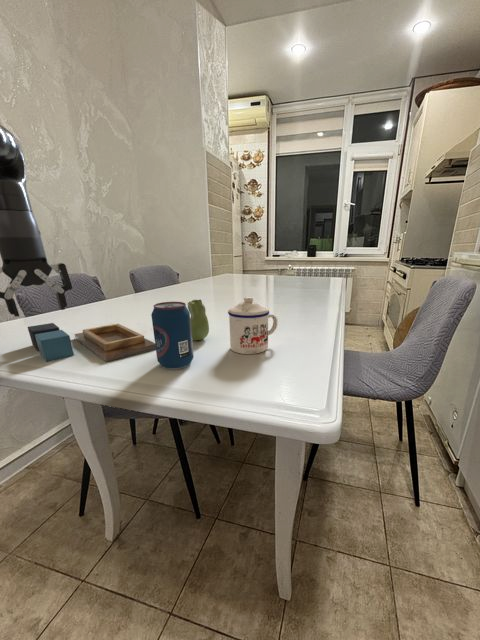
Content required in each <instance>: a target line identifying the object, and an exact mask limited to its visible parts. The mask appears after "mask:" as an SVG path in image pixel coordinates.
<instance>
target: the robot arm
mask: <svg viewBox="0 0 480 640" xmlns="http://www.w3.org/2000/svg"><path fill="white" fill-rule="evenodd" d="M26 171H27V170H26V161H25V157H24V151H23V149H22V146H21V143H20V142H19V140H18V139H17V137H16V136H15V135H14V134H13V132H12V131H10V130H9V129H8V128H6V127H5V126H3V125H2V124H0V258H1V261H2V266H1V267H0V274H2V273H3V274H4V275H6V277H8V278H9V279H10V281H9V283H8V284H7V285H6V288H5V289H4V291H0V299H2V300H4V301H5V305H6V309H7V310H8V313H9V314H10V315H11V316H12V315H13V316H14V317H15V318H17V317H20V313H19V310H18V307H17V304H16V301H15V299H14V298H13V296H14V295H15V293H16V292H17V291H18V289H19V287H20V286H22V287H31V286H42V285H44V284H46V286H48V287H49V288H51V289H52V290H53V291H55V297H56V301H57V304H58V308H59V310H61V311H64V310H66V307H68V303H67V299H66V292H68V291H71V290H72V289H73V285H72V281H71V278H70V275H69V272H68V269H67V266H66V264H65V263H64V262H63V263H62V262H58V263H54V264H50V263H49V261H48V259H47V255H46V251H45V247H44V244H43V240H42V236H41V233H42V232H41V231H40V229H39V225H38V222H37V220H36V218H35V214H34V212H33V209H32V208H33V207H32V203H31V201H30V196H29V194H28V191H27V172H26ZM52 271H54V272H55V273H56V274H59V276H60V280H61V283H62V285H59V284H58V283H56V282H55V281H54V280H53V279H52V278H51V277H50V275H51V273H52Z"/></svg>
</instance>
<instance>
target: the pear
mask: <svg viewBox="0 0 480 640" xmlns="http://www.w3.org/2000/svg"><path fill="white" fill-rule="evenodd" d="M187 309H188V311H189V312H190V321H191V333H192V340H194V341H202V340H204V339H207V337H208V335H209V333H210V323H209V319H208V316H207V314H206V313H207V312H206V311H207V310H206V306H205V304H204V303H203V301H202V299H192V300H191V301H188V302H187Z"/></svg>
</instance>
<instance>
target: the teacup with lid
mask: <svg viewBox="0 0 480 640" xmlns="http://www.w3.org/2000/svg"><path fill="white" fill-rule="evenodd" d="M227 314H228V318H229V319H228V320H229V343H230V345H229V347H230V349H231V351H233V352H234V353H238V354H242V355H255V354H261V353H264V352H266V351H267V349H268V348H269V336H271V335H272V334H274V333H275V332H276V330H277V328H278V323H279V321H278V317H277V316H276V315H274V314H272V313H270V310H269V308H268V307H267V306H265V305H262V304H260V303H258V302H257V301H254V298H253V297H252V296H244V298H243V301H241V302H239V303H238V304H236V305H234V306H231V307H230V308H229V309H228V311H227ZM269 318H272V320H273V323H272V326H271V328H270V330H269Z"/></svg>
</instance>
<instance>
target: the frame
mask: <svg viewBox="0 0 480 640" xmlns="http://www.w3.org/2000/svg"><path fill="white" fill-rule="evenodd" d="M74 339H76V340H77V341H78V342H79V343H81V344H82V345H83V346H84V347H86V348H87V349H88V350H89V351H91V352H92V353H94V354H95V355H97V356H98V357H99V358H101V359H102V360H103V361H105V362H107V363H109V362H112V361H115V360H119V359H123V358H127V357H131V356H134V355H138V354H139V355H140V354H142V353H147V352H150V351H154V350H156V346H155V342H153V341H151V340H149V339H147V338H145V335H144V334H141V333H140V332H137V331H135V330H134V329H133V330H132V329H131V328H128V327H126V326H124V325H122V324H120V323H113V324H108V325H102V326H98V327H90V328H86V329H82V332H78V333H74Z"/></svg>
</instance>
